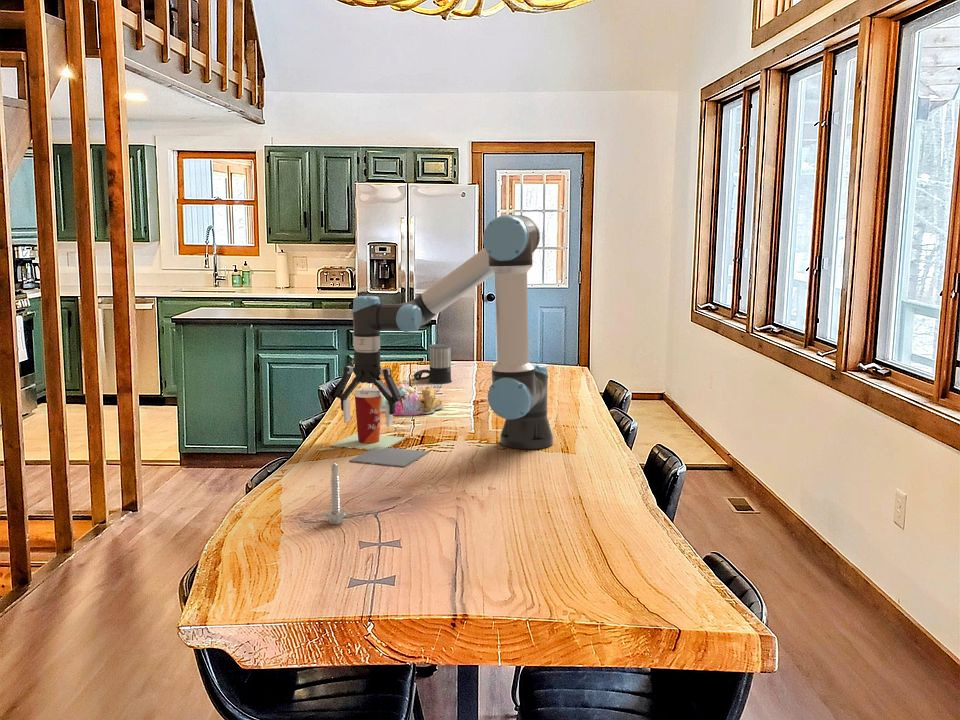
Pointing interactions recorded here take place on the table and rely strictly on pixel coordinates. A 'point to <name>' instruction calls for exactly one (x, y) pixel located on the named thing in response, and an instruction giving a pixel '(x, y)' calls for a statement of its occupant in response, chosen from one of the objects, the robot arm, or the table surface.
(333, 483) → the screw
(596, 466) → the table surface
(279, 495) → the table surface
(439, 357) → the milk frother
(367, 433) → the coffee cup
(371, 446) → the pad green
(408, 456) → the pad grey
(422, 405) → the pastel sphere sculpture
